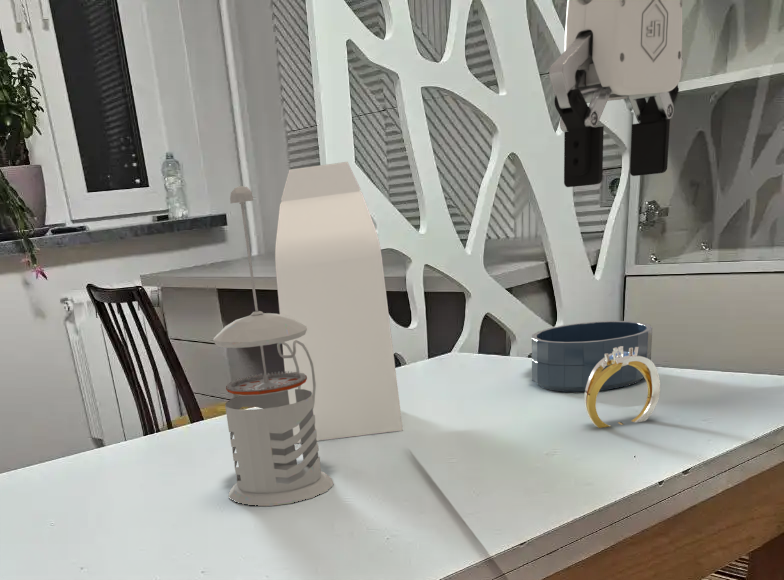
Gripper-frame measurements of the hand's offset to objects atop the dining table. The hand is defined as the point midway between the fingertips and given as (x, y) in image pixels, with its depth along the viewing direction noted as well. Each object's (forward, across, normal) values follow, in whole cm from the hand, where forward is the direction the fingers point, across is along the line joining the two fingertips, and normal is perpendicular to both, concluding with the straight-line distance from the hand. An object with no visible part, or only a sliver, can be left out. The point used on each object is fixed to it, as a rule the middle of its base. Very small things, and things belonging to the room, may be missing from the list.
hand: (616, 179), depth 76 cm
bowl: (+22, +20, +15) cm, 33 cm away
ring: (+22, +1, -1) cm, 22 cm away
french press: (+22, -25, +18) cm, 38 cm away
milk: (+22, -7, +29) cm, 37 cm away
